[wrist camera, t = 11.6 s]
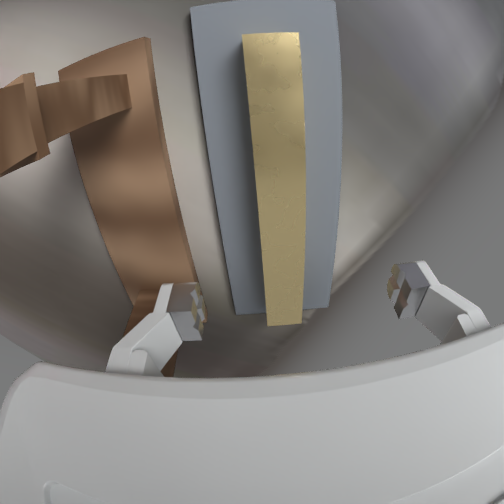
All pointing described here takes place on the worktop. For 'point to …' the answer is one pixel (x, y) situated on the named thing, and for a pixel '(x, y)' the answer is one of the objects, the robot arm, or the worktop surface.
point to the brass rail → (279, 167)
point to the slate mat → (240, 138)
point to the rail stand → (110, 162)
